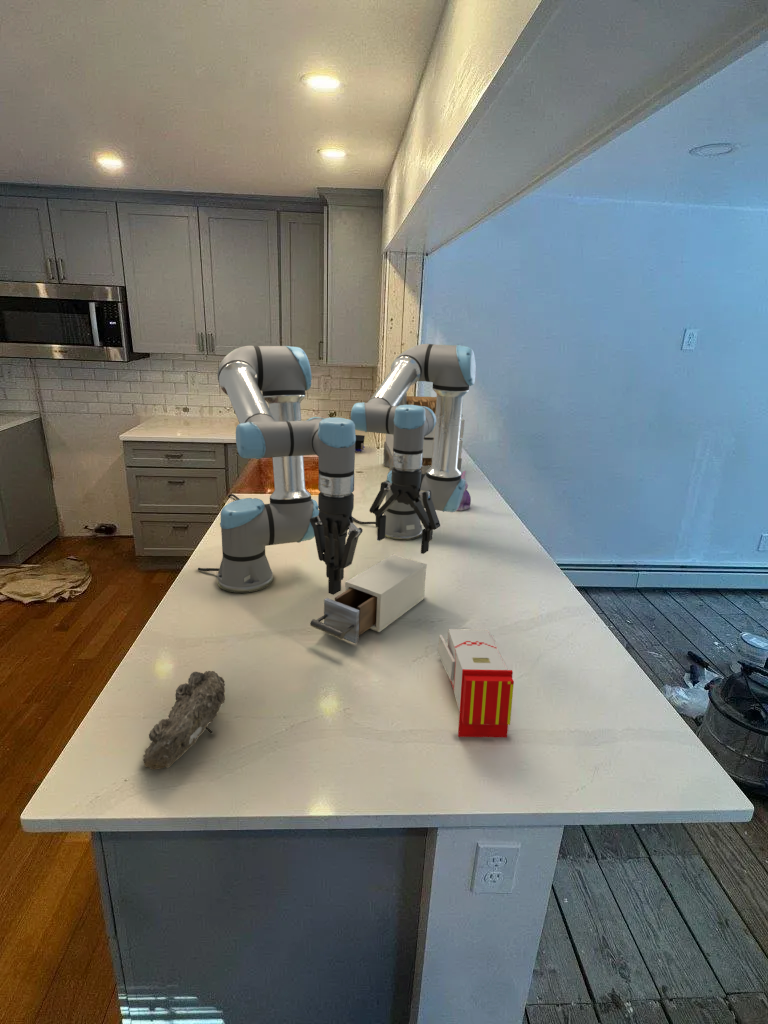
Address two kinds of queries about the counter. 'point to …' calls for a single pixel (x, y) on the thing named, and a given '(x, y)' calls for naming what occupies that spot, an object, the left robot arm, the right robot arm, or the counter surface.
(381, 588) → the cabinet
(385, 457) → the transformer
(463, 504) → the figurine
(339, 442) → the left robot arm
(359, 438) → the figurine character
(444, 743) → the counter surface
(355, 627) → the drawer
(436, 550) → the counter surface
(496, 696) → the white and red box
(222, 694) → the fossil
